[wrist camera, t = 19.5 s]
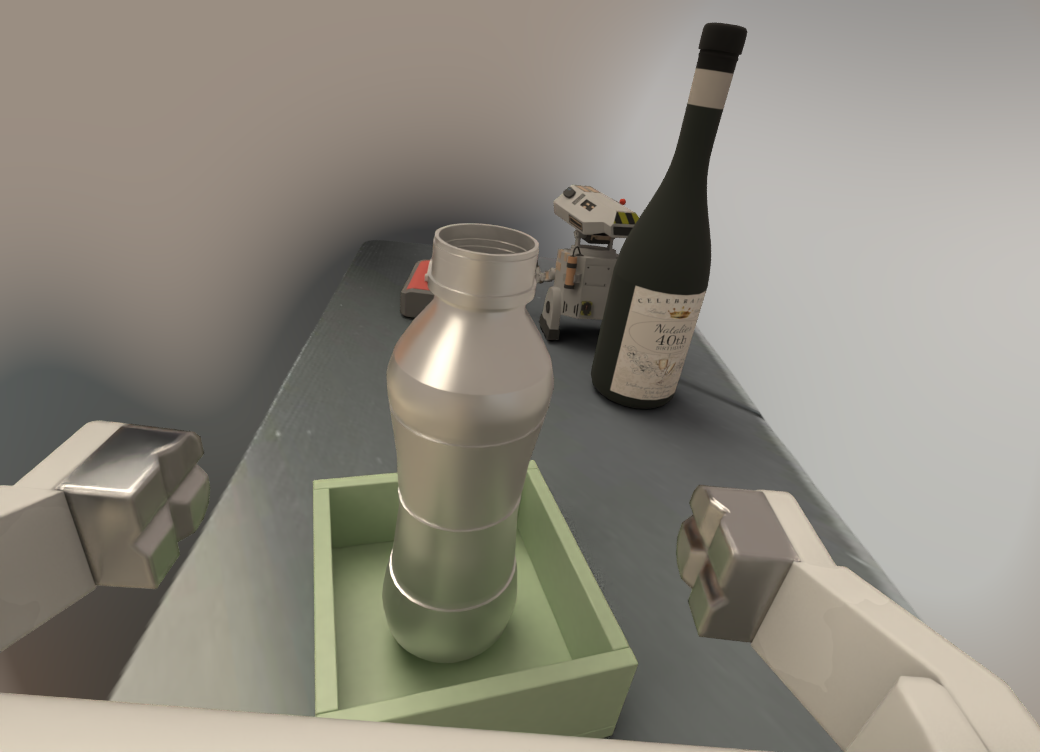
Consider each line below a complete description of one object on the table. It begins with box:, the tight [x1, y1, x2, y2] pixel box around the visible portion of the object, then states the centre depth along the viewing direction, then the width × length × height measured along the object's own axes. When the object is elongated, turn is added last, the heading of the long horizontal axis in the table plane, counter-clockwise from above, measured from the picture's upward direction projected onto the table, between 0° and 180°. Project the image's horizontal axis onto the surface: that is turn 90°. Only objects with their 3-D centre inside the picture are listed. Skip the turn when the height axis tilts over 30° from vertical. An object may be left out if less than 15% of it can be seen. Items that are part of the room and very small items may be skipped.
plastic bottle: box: [382, 223, 554, 663], centre depth 25 cm, size 6×7×20 cm
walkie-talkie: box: [400, 258, 435, 318], centre depth 69 cm, size 9×4×20 cm
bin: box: [313, 460, 638, 738], centre depth 29 cm, size 14×13×5 cm
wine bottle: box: [591, 23, 747, 409], centre depth 48 cm, size 8×8×30 cm
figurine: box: [535, 185, 639, 340], centre depth 63 cm, size 9×12×15 cm
